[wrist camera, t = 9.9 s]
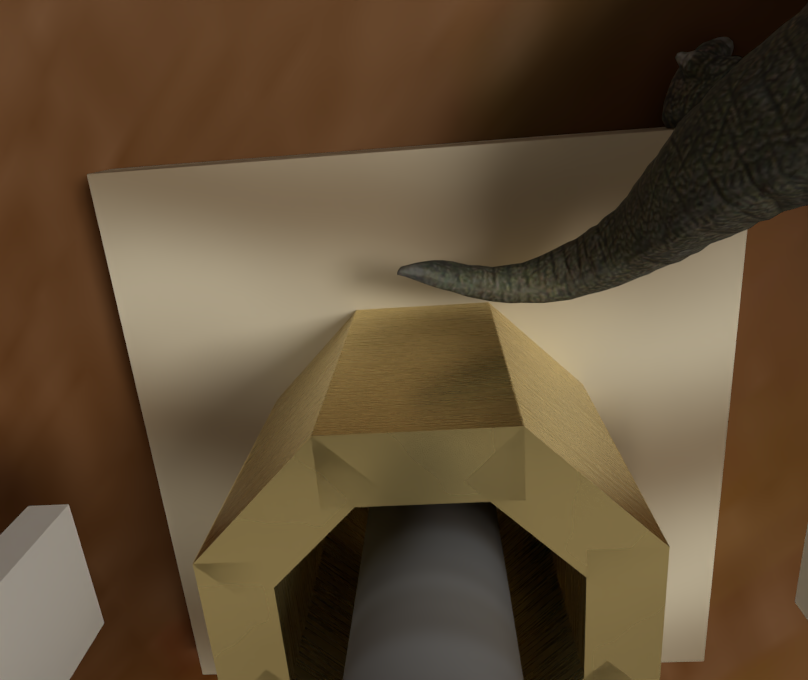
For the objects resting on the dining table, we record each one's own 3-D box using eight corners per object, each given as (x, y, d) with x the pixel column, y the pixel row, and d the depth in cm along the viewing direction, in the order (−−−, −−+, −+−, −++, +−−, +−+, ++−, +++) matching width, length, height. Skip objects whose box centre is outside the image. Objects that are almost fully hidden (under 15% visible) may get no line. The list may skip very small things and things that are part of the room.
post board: (112, 168, 15) (-934, 389, 4) (732, 121, 14) (2038, 210, 3) (215, 642, 20) (-88, 1403, 8) (687, 628, 19) (1092, 1459, 7)
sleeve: (265, 315, 15) (165, 442, 9) (584, 296, 15) (679, 418, 9) (304, 573, 18) (243, 797, 12) (578, 563, 17) (651, 791, 11)
